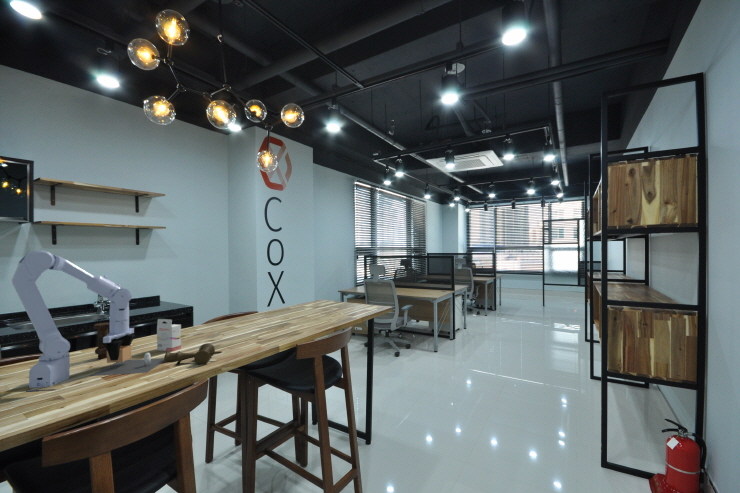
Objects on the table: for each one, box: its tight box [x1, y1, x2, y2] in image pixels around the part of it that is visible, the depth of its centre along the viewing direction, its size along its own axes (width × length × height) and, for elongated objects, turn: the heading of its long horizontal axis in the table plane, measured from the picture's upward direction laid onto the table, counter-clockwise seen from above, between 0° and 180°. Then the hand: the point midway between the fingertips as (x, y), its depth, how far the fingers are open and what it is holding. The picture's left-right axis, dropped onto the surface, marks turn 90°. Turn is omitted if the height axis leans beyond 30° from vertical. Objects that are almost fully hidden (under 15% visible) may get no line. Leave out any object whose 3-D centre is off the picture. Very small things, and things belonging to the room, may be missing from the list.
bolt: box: [93, 321, 110, 360], centre depth 129 cm, size 6×5×15 cm
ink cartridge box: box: [156, 318, 182, 352], centre depth 140 cm, size 9×5×15 cm, turn 73°
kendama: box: [163, 342, 223, 366], centre depth 127 cm, size 6×10×20 cm
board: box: [89, 352, 165, 377], centre depth 118 cm, size 16×18×6 cm
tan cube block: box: [106, 345, 132, 364], centre depth 120 cm, size 5×5×4 cm
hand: (119, 357), depth 120 cm, fingers closed on tan cube block, 5 cm apart
